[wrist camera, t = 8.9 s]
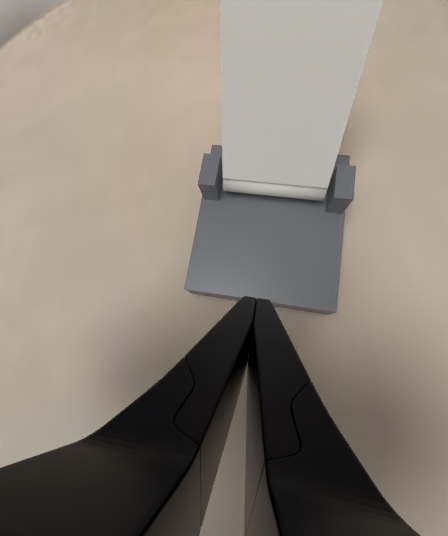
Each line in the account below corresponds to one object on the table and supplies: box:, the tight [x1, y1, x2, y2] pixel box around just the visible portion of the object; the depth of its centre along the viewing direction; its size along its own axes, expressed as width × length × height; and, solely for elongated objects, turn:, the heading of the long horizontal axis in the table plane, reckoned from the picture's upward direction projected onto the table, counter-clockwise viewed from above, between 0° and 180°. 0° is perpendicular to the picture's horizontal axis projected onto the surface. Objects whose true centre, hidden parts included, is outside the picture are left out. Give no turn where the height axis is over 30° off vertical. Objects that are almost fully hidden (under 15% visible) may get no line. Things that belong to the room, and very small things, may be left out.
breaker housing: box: [184, 145, 356, 314], centre depth 18 cm, size 10×9×4 cm
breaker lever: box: [220, 0, 383, 201], centre depth 13 cm, size 2×6×12 cm, turn 80°
